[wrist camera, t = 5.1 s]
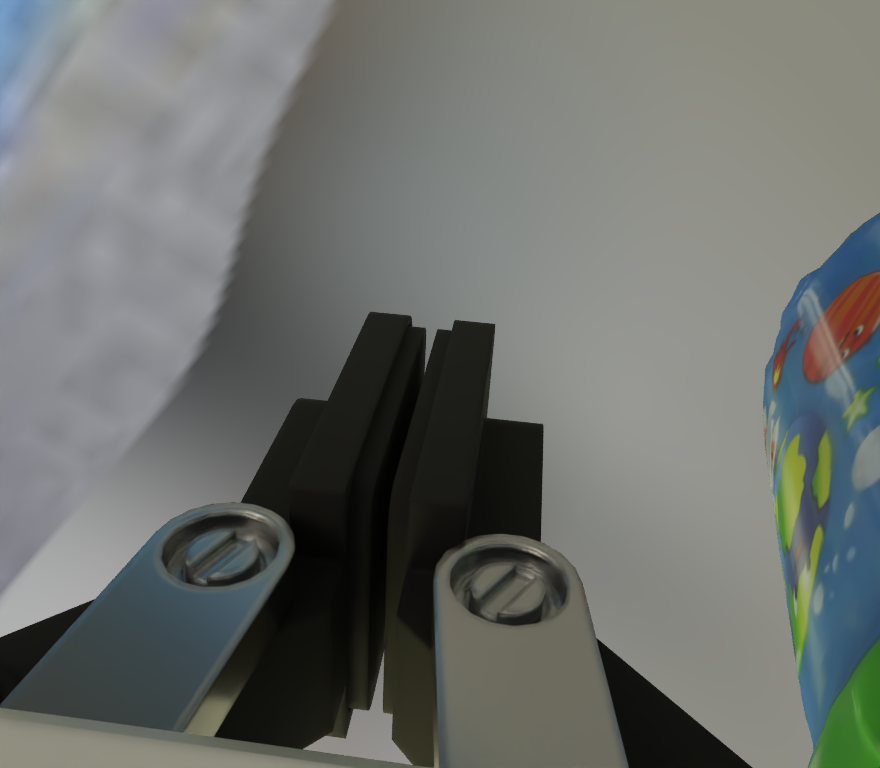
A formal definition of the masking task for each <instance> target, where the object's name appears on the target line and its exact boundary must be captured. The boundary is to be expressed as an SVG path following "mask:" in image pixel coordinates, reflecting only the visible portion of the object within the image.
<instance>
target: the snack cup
mask: <svg viewBox="0 0 880 768" xmlns="http://www.w3.org/2000/svg"><path fill="white" fill-rule="evenodd" d="M763 408H764V438H765V447H766V456H767V464H768V471H769V477H770V485H771V491H772V498H773V506H774V513H775V518H776V528H777V535H778V543H779V550H780V557H781V564H782V571H783V578H784V585H785V592H786V599H787V606H788V612H789V619H790V625H791V632H792V639H793V646H794V653H795V661H796V668H797V672H798V678H799V683H800V687H801V695H802V701H803V706H804V711H805V716H806V720H807V723H808V726H809V729H810V732H811V737H812V741H813V750H814V751H813V754H812V757H811V759H810V762H809V766H808V768H880V213H879V214H877V215H876V216H874V217H873V218H871V219H870V220H868V221H867V222H865V223H864V224H863V225H862V226H860V228H858V229H857V230H856V231H854V232H853V233H851V234H850V235H849V236H848V238H847V239H846V240H845V241H844V243H843V244H842V245H841V246H840V247H839V248H838V249H837V250H836V251H835V252H834V253H833V254H832V255H831V257H829V259H828V260H827V261H826V262H825V263H824V264H823V265H822V266H821V267H820V268H818V269H817V270H815V271H813V272H811V273H809V274H808V275H806V276H805V277H804V278H802V279H801V280H800V282H799V284H798V286H797V288H796V290H795V292H794V295H793V297H792V299H791V300H790V302H789V303H788V305H787V307H786V308H785V310H784V312H783V314H782V318H781V329H780V331H779V334H778V336H777V339H776V344H775V348H774V353H773V355H772V357H771V358H770V360H769V362H768V364H767V366H766V370H765V385H764V401H763Z"/></svg>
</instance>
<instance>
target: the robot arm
mask: <svg viewBox="0 0 880 768" xmlns="http://www.w3.org/2000/svg"><path fill="white" fill-rule="evenodd" d="M494 334H495V324H489V323H479V322H468V321H459V320H455V321H454V324H453V328H452V331H450V330H440V329H438V330H437V333H436V336H435V340H434V343H433V347H432V350H431V354H430V357H429V361H428V364H427V368H426V371H425V375H424V370H425V369H424V368H425V349H426V329H425V328H420V327H412V318H411V316H408V315H398V314H387V313H377V312H370V313H369V314H368V317H367V319H366V321H365V323H364V325H363V327H362V329H361V331H360V333H359V335H358V338H357V340H356V342H355V344H354V346H353V348H352V350H351V352H350V355H349V357H348V359H347V361H346V363H345V365H344V367H343V369H342V372H341V374H340V376H339V378H338V380H337V382H336V384H335V386H334V389H333V391H332V393H331V395H330V397H329V399H328V401H322V400H313V399H303V398H300V399H297V400H296V402H295V403H294V405H293V406H292V408H291V410H290V412H289V414H288V416H287V417H286V419H285V421H284V423H283V425H282V427H281V429H280V430H279V432H278V434H277V436H276V438H275V440H274V442H273V444H272V445H271V447H270V449H269V451H268V453H267V455H266V456H265V458H264V460H263V462H262V464H261V466H260V468H259V469H258V471H257V473H256V475H255V477H254V479H253V481H252V483H251V484H250V486H249V488H248V490H247V492H246V494H245V495H244V497H243V499H242V501H241V503H236V502H230V503H218V504H210V505H206V506H202V507H199V508H195V509H191V510H189V511H187V512H185V513H183V514H181V515H179V516H177V517H175V518H173V519H171V520H170V521H168V522H167V523H166V524H165V525H164V526H162V527H161V528H160V529H159V530H158V531H156V532H155V534H154V535H153V536H152V537H151V538H150V539H149V540H148V541H147V543H146V544H145V545H144V546H143V547H142V548H141V549H140V550H139V551H138V552H137V554H136V555H135V556H134V557H133V558H132V559H131V560H130V561H129V563H127V565H126V566H125V567H124V568H123V569H122V570H121V571H120V572H119V574H118V575H117V576H116V577H115V578H114V579H113V580H112V581H111V582H110V584H108V586H107V587H106V588H105V589H104V590H103V591H102V592H101V593H100V594H99V596H98V597H97V598H96V599H94V600H92V601H89V602H87V603H85V604H82V605H79V606H77V607H74V608H72V609H69V610H67V611H65V612H62V613H60V614H57V615H55V616H52V617H50V618H47V619H45V620H42V621H40V622H37V623H35V624H32V625H30V626H27V627H25V628H22V629H20V630H17V631H15V632H13V633H10V634H8V635H5V636H3V637H1V638H0V768H752V767H751V766H750V765H748V764H747V763H746V762H745V761H744V760H742V759H741V758H740V757H739V756H738V755H736V754H735V753H734V752H733V751H732V750H730V749H729V748H728V747H727V746H726V745H724V744H723V743H722V742H721V741H720V740H718V739H717V738H716V737H715V736H714V735H712V734H711V733H710V732H709V731H708V730H706V729H705V728H704V727H703V726H702V725H700V724H699V723H698V722H697V721H695V720H694V719H693V718H692V717H691V716H690V715H688V714H687V713H686V712H685V711H684V710H682V709H681V708H680V707H679V706H678V705H676V704H675V703H674V702H672V700H670V699H669V698H668V697H667V696H665V695H664V694H663V693H662V692H661V691H659V690H658V689H657V688H656V687H654V686H653V685H652V684H651V683H650V682H649V681H647V680H646V679H645V678H644V677H643V676H641V675H640V674H639V673H638V672H636V671H635V670H634V669H633V668H632V667H631V666H629V665H628V664H627V663H626V662H625V661H623V660H622V659H621V658H620V657H618V656H617V655H616V654H615V653H614V652H613V651H611V650H610V649H609V648H608V647H607V646H605V645H604V644H603V643H602V642H601V641H599V640H598V639H597V638H596V635H595V631H594V627H593V623H592V619H591V615H590V611H589V607H588V603H587V600H586V595H585V592H584V587H583V584H582V581H581V580H580V577H579V575H578V573H577V571H576V569H575V567H574V566H573V565H572V564H571V563H570V562H569V561H568V560H567V559H566V558H565V557H564V556H563V555H562V554H561V553H559V552H557V551H556V550H554V549H552V548H551V547H549V546H547V545H546V544H544V543H541V507H542V468H543V424H537V423H527V422H517V421H508V420H499V419H490V418H487V409H488V399H489V389H490V378H491V367H492V355H493V346H494ZM384 649H385V650H384ZM383 653H384V689H383V712H384V713H390V714H393V724H392V740H393V741H394V743H395V744H396V745H397V746H398V747H399V749H400V750H401V751H402V752H403V753H404V755H405V756H406V757H407V758H408V759H409V761H410V762H411V763H412V764H413V765H407V764H400V763H393V762H387V761H379V760H372V759H365V758H358V757H351V756H344V755H337V754H330V753H323V752H316V751H309V750H303V748H305V747H307V746H309V745H310V744H312V743H313V742H315V741H317V740H319V739H321V738H322V737H324V736H332V737H340V738H346V735H347V731H348V728H349V724H350V720H351V716H352V712H353V709H361V710H369V709H370V707H371V704H372V699H373V696H374V691H375V687H376V683H377V678H378V674H379V670H380V666H381V661H382V657H383Z"/></svg>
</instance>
